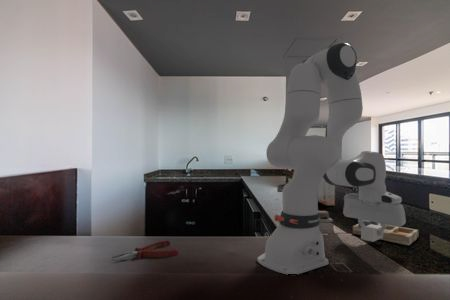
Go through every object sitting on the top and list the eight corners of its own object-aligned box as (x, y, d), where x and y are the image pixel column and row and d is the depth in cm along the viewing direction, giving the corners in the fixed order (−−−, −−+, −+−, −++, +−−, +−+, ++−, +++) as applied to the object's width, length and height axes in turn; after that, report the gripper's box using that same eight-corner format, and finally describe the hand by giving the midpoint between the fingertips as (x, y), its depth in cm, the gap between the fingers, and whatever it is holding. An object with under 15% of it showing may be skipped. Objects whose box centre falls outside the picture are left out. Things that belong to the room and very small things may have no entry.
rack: (409, 245, 92) (408, 230, 92) (352, 233, 107) (352, 220, 107) (418, 237, 101) (418, 223, 101) (365, 227, 116) (365, 215, 116)
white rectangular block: (372, 241, 90) (372, 230, 90) (361, 239, 93) (361, 227, 93) (383, 237, 95) (383, 226, 95) (371, 234, 98) (371, 224, 98)
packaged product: (295, 212, 127) (292, 208, 137) (295, 222, 127) (292, 217, 137) (333, 213, 125) (327, 209, 135) (333, 223, 125) (327, 218, 135)
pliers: (110, 256, 86) (110, 248, 86) (169, 245, 96) (169, 238, 96) (114, 270, 76) (114, 261, 76) (179, 256, 86) (179, 248, 86)
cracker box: (335, 205, 165) (335, 173, 166) (326, 205, 165) (325, 173, 166) (326, 201, 179) (326, 171, 180) (318, 201, 179) (317, 172, 180)
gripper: (340, 192, 101) (340, 228, 100) (400, 199, 85) (401, 242, 84) (347, 191, 105) (347, 226, 104) (407, 198, 89) (407, 238, 88)
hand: (372, 233), depth 94 cm, fingers closed on white rectangular block, 4 cm apart
